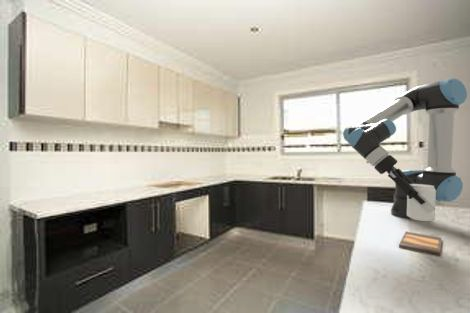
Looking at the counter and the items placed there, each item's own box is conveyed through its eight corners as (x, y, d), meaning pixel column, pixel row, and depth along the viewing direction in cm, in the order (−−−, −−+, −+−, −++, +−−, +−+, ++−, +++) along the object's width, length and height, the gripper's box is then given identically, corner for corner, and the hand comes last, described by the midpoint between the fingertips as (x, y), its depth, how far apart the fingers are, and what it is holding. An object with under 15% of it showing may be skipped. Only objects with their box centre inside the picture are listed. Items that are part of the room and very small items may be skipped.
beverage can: (440, 222, 85) (441, 187, 84) (413, 221, 86) (414, 186, 86) (426, 216, 93) (427, 184, 92) (402, 215, 94) (403, 183, 94)
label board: (405, 233, 100) (405, 231, 100) (441, 240, 93) (441, 237, 93) (399, 247, 86) (399, 244, 86) (440, 256, 79) (440, 252, 79)
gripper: (379, 166, 107) (425, 209, 97) (367, 168, 91) (420, 221, 81) (394, 153, 103) (443, 197, 93) (384, 154, 87) (442, 207, 77)
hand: (432, 208), depth 87 cm, fingers closed on beverage can, 8 cm apart
